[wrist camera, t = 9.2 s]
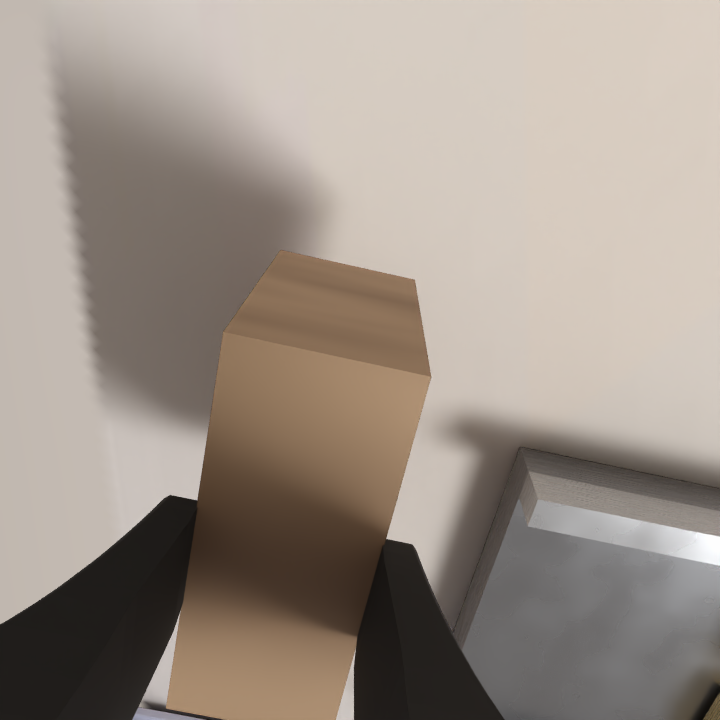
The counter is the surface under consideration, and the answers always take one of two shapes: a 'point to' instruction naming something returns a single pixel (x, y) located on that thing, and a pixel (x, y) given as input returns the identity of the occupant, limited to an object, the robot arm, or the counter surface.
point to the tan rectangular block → (297, 488)
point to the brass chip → (714, 710)
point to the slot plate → (597, 595)
